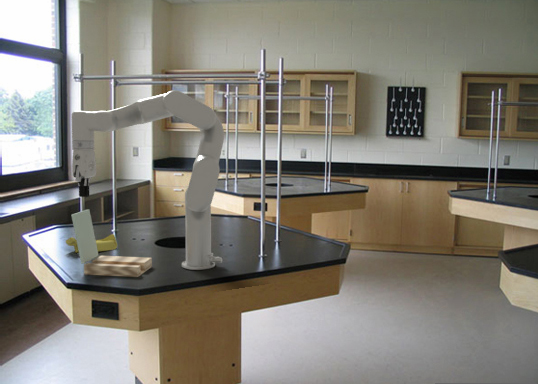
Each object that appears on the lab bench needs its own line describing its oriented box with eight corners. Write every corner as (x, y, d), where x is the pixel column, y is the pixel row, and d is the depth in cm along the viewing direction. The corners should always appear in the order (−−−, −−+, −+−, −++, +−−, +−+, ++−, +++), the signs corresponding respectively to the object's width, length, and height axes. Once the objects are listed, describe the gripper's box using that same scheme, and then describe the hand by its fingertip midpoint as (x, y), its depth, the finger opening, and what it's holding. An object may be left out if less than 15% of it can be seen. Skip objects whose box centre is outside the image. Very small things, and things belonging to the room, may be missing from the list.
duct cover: (89, 209, 204) (86, 209, 204) (73, 214, 192) (71, 214, 192) (98, 255, 206) (96, 256, 206) (83, 263, 194) (81, 263, 194)
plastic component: (103, 239, 241) (115, 232, 235) (106, 255, 240) (118, 248, 234) (61, 243, 226) (73, 235, 220) (64, 260, 225) (76, 253, 219)
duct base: (151, 266, 205) (151, 257, 204) (138, 276, 191) (137, 267, 190) (101, 264, 207) (101, 255, 207) (84, 274, 193) (83, 264, 193)
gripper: (83, 146, 187) (84, 199, 189) (102, 145, 201) (102, 194, 204) (63, 146, 187) (64, 198, 190) (82, 144, 202) (83, 193, 204)
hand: (84, 196), depth 197 cm, fingers closed
